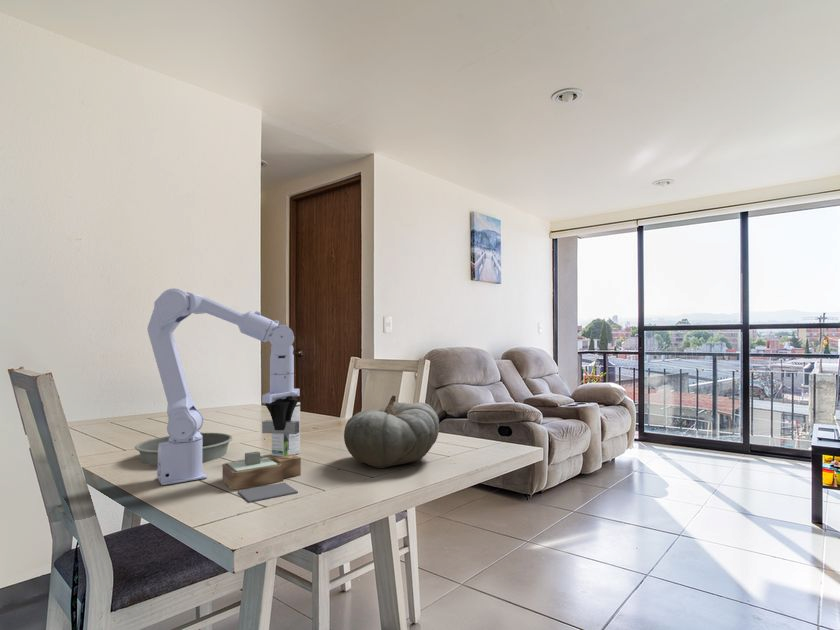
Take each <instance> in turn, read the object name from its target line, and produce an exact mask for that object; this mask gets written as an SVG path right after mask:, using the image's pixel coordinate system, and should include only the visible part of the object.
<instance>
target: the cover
mask: <svg viewBox="0 0 840 630" xmlns="http://www.w3.org/2000/svg"><path fill="white" fill-rule="evenodd" d="M227 463H228V467H229V468H231V469H232V470H233V471H234V472H240V471H246V470H253V469H259V468H265V467H271V466H277V465H278V464H277V463H275V462H273V461H272V460H270V459H268V457H261V452H260V451H251V452H244V460H241V461H240V462H239V461H234V462H227Z"/></svg>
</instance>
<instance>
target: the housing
mask: <svg viewBox="0 0 840 630" xmlns="http://www.w3.org/2000/svg"><path fill="white" fill-rule="evenodd" d="M267 458H268V459H270V460H272V461H273V462H275V463H277V464H278V465H277V466H271V467H265V468H259V469H253V470H246V471H240V472H234V471H233V470H232V469H231V468H229V467H228V463H229V462H227V463H224V464H222V468H221V469H222V470H221V471H222V473H221V475H222V478H221V479H222V482H224V484H226V485H227V487H228V488H230V489H231V490H232V491H235V490H241V489H245V488H246V489H247V488H251V487H256V486H257V487H258V486H262V485H263V486H264V485H267V484H268V485H269V484H275V483H280V482H284V479H286V478H292V477H297V476H298V477H299V476H301V473H302V467H301V464H302V462H301V460H302V458H301V457H299V456H298V455H297V454H296V455H294V454H290V455H283V456H272V457H270V456H268V457H267ZM238 462H240V461H238Z"/></svg>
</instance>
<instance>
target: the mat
mask: <svg viewBox="0 0 840 630" xmlns="http://www.w3.org/2000/svg"><path fill="white" fill-rule="evenodd" d="M298 493H299V492H298V490H297V489H295V488H294V487H292V486H291V485H289V484H287V483H286V482H285V481H283V482H278V483H272V484H270V485H269V484H268V485H263V486H257V487H253V488H246V489H242V490H241V489H240V490H238V494H240V496H242V497H243V499H244V500H246V501H247V502H248V503H254V502H258V501H262V500H269V499H272V498H273V499H274V498H278V497H284V496H289V495H294V494H298Z"/></svg>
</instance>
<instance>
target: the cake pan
mask: <svg viewBox="0 0 840 630" xmlns="http://www.w3.org/2000/svg"><path fill="white" fill-rule="evenodd" d="M200 434H201V435H202V436H203V445H202V463H204V462H205V463H206V462H211V461H213V460H217V459H220V458H222V457H224V456H225V455H226V454H227V452H228V448H229V443H230V442H232V440H233V438H234V437H233V436H232V435H231V434H227V433H222V432H200ZM169 438H170V436H169V435H166V436H160V437H155V438H152V439H148V440H145V441H144V440H143V441H142V442H139V443H138V444H136V445H135V446H134V449H135V450H136V451H137V452H139V456H140V458H141V463H142V464H144V463H145V465H147V464H148V465H147V466H152V465H153V467H154V466H155V467H158V445H159V443H163V442H167V441H169Z"/></svg>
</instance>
